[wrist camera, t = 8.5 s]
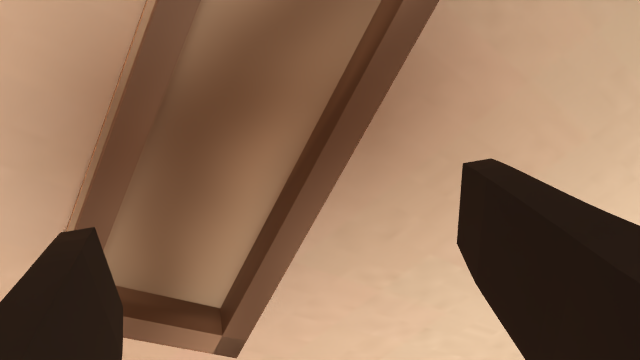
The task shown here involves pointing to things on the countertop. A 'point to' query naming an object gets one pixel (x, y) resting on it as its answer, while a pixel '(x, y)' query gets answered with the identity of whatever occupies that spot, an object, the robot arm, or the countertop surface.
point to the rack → (231, 152)
